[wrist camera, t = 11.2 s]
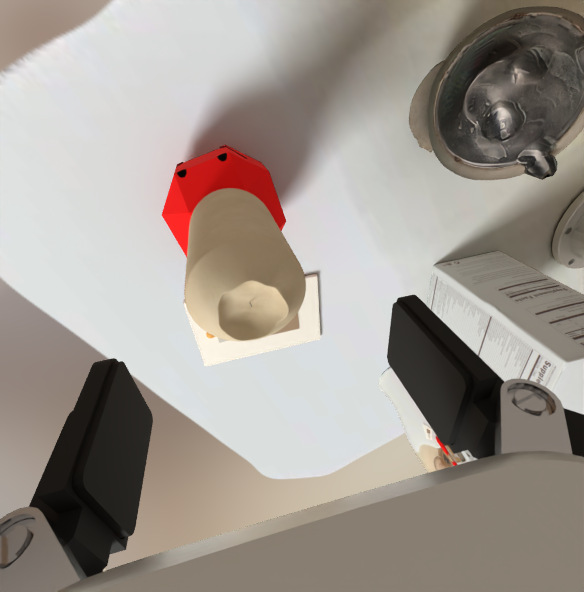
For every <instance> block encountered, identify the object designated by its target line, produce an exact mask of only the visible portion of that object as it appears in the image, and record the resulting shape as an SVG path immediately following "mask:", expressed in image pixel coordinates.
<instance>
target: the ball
mask: <svg viewBox="0 0 584 592" xmlns="http://www.w3.org/2000/svg"><path fill="white" fill-rule="evenodd" d="M226 188H236V189H241V190H244V191H247V192H249V193H251V194H253V195H254V196H256V197H257V198H258V199H260V200H261V201H262V202H263V203H264V205H265V206H266V207H267V209H268V210H269V212H270V213H271V215H272V217H273V219H274V220H275V222H276V224H277V225H278V227H279V229H280V231H282V229H283V226H284V224H285V222H286V219H285V216H284V213H283V211H282V208H281V205H280V202H279V199H278V196H277V193H276V190H275V187H274V185H273V182H272V179H271V176H270V173H269V171H268V170H267V169H266V168H265V166H264V165H263V164H262V163H261V162H259V161H257V160H255V159H253V158H251V157H249V156H247V155H245V154H243V153H241V152H239V151H237V150H235V149H233V148H231V147H229V146H227V145H224V146H221V147H220V148H219V149H217V150H214V151H212V152H209V153H207V154H204V155H202V156H199V157H197V158H194V159H192V160H189V161H187V162H181V163H179V164H177V167H176V170H175V173H174V176H173V180H172V183H171V186H170V189H169V193H168V196H167V199H166V202H165V206H164V209H163V212H162V216H163V218H164V220H165V221H166V223H167V225H168V226H169V228H170V230H171V231H172V233H173V235H174V236H175V238H176V240H177V241H178V243H179V245H180V246H181V248H182V250H183V252H184V253H185V255H186V257H187V251H188V237H189V225H190V219H191V216H192V213H193V211H194V209H195V207H196V206H197V205H198V203H199V202H200V201H201V200H202V199H203V198H204V197H205V196H207V195H208V194H210V193H212V192H214V191H217V190H220V189H226Z"/></svg>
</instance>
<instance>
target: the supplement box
mask: <svg viewBox="0 0 584 592" xmlns="http://www.w3.org/2000/svg"><path fill="white" fill-rule="evenodd" d="M427 307H428V308H429V309H430V310H432V311H433V312H434V313H435V314H436V315H437V316H438V317H439V318H440V319H441V320H442V321H443V322H444V323H445V324H446V325H447V326H448V327H449V328H450V329H451V330H452V331H453V332H454V333H455V334H456V335H457V336H458V337H459V338H460V339H461V340H462V341H463V342H464V343H465V344H466V345H467V346H469V347H470V348H471V349H472V350H473V351H474V352H475V353H476V354H477V355H478V356H479V357H480V358H481V359H482V360H483V361H484V362H485V363H486V364H487V365H488V366H489V367H490V368H491V369H492V370H493V371H494V372H495V373H496V374H497V375H498V376H499V377H500V378H501V379H502V380H503V381H504V382H505V381H507V380H510V379H519V378H520V379H526V380H531V381H533V382H536V383H539V384H541V385H543V386H544V387H546V388H548V389H549V390H550V391H552V392H553V393H554V394H555V395H556V396H557V397H558V398H559V400H560V401H561V403H562V406H563V408H565V409H568V410H571V411H574V412H577V413H580V414H584V295H583V294H581V293H579V292H577V291H575V290H573V289H571V288H570V287H568V286H566V285H564V284H562V283H560V282H558V281H556V280H554V279H552V278H550V277H548V276H546V275H544V274H543V273H541V272H539V271H537V270H535V269H533V268H531V267H529V266H527V265H525V264H523V263H521V262H519V261H517V260H515V259H514V258H512V257H510V256H508V255H506V254H504V253H502V252H500V251H495V252H491V253H486V254H481V255H477V256H472V257H467V258H463V259H458V260H453V261H449V262H444V263H440V264H435V265H434V266H433V272H432V278H431V284H430V290H429V296H428V302H427Z"/></svg>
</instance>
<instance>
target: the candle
mask: <svg viewBox="0 0 584 592" xmlns="http://www.w3.org/2000/svg"><path fill="white" fill-rule="evenodd" d="M305 292H306V280H305V275H304V272H303V269H302V267H301V265H300V263H299V261H298V260H297V258H296V256H295V254H294V253H293V251H292V249H291V248H290V246H289V244H288V243H287V241H286V239H285V237H284V236H283V234H282V232H281V231H280V229H279V227H278V225H277V224H276V222H275V220H274V219H273V217H272V215H271V213H270V212H269V210H268V209H267V207H266V206H265V205H264V203H263V202H262V201H261V200H260V199H258V198H257V197H256V196H254V195H253V194H251V193H249V192H247V191H244V190H241V189H236V188H226V189H220V190H217V191H214V192H212V193H210V194H208V195H207V196H205V197H204V198H203V199H202V200H201V201H200V202H199V203H198V205H197V206H196V207H195V209H194V211H193V213H192V216H191V219H190V225H189V237H188V251H187V264H186V278H185V293H184V294H185V303H186V306H187V309H188V312H189V314H190V315H191V317H192V319H193V320H194V321H195V322H196V323H197V325H198V326H200V327H201V328H202V329H203V330H205V331H206V332H208V333H209V334H211V335H213V336H215V337H218V338H221V339H225V340H229V341H252V340H258V339H261V338H265V337H267V336H270V335H272V334H274V333H276V332H277V331H279V330H280V329H282V328H283V327H285V326H286V325H287V324H288V323H289V322H290V321H291V320H292V319H293V318H294V317H295V315H296V314H297V313H298V311H299V309H300V308H301V305H302V303H303V300H304V297H305Z"/></svg>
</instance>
